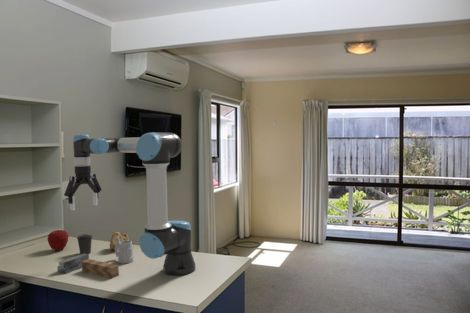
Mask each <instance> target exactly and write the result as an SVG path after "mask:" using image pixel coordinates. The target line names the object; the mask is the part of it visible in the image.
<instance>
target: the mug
mask: <svg viewBox="0 0 470 313" xmlns="http://www.w3.org/2000/svg"><path fill="white" fill-rule="evenodd" d="M118 246H119V248H118ZM133 249H134V247H133V242H132V240H129V241H121V242H120V239H119V237H118V236H117V237H116V244H115V250H114V253H115V256H116V258H117V260H118V263H119V264H130V263H133V262H134V258H135V256H134V254H133V253H134V251H133Z"/></svg>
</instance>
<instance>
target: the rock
mask: <svg viewBox="0 0 470 313" xmlns="http://www.w3.org/2000/svg"><path fill="white" fill-rule="evenodd" d="M117 236H118V237H119V239H120V242H121V241H130V237H129V234H128V233H127V232H119V231H114V233H113V234H112V235H111V238H110V241H109V242H110V243H109V248H110V250H111V251H112V250H113V251H115V244H116V237H117ZM118 248H119V246H118Z"/></svg>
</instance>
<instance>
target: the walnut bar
mask: <svg viewBox="0 0 470 313" xmlns="http://www.w3.org/2000/svg"><path fill="white" fill-rule="evenodd" d="M119 270H120V269H119V265H118V264H113V263H110V262H109V263H108V262H104V261H99V260H95V259H90V258H89V259H87V260H84V261H82V268H81V271H82V272H84V273H88V274H92V275H96V276H100V277H105V278H109V279H115V278H116V277H118V276H120V272H119Z"/></svg>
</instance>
